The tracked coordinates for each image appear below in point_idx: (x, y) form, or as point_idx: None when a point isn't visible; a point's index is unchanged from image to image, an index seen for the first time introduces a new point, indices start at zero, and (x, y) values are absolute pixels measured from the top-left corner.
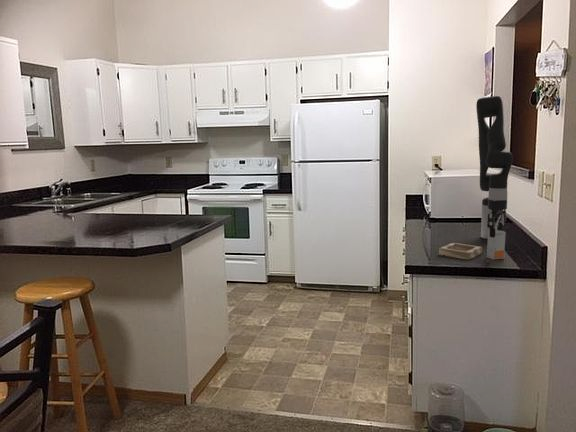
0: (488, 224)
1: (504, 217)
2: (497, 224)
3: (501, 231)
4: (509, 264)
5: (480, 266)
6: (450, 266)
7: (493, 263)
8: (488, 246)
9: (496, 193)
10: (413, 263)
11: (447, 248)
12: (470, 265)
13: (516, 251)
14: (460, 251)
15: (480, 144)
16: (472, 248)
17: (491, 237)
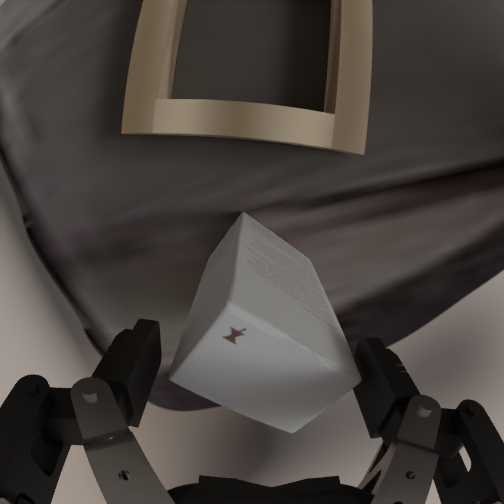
0: (13, 411)
1: (443, 501)
2: (407, 403)
3: (284, 414)
4: (170, 342)
5: (59, 239)
6: (4, 129)
7: (139, 277)
8: (227, 246)
9: None
10: (4, 9)
11: None
12: (48, 192)
13: (441, 306)
14: (130, 69)
15: None
16: (333, 90)
17: (198, 314)
